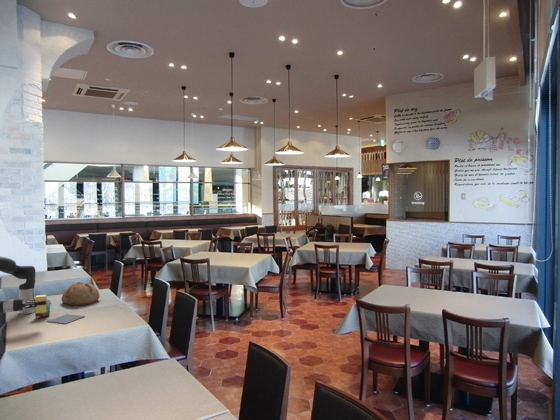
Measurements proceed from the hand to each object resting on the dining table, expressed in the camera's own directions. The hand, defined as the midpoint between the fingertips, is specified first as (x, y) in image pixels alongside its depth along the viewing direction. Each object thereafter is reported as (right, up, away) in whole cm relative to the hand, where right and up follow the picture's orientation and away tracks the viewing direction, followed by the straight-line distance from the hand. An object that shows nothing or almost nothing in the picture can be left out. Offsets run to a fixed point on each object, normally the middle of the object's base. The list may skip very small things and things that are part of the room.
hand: (45, 301), depth 241 cm
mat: (+4, -16, +16) cm, 22 cm away
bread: (-9, -15, +59) cm, 62 cm away
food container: (-14, -16, +22) cm, 30 cm away
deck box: (-2, -6, -1) cm, 7 cm away
